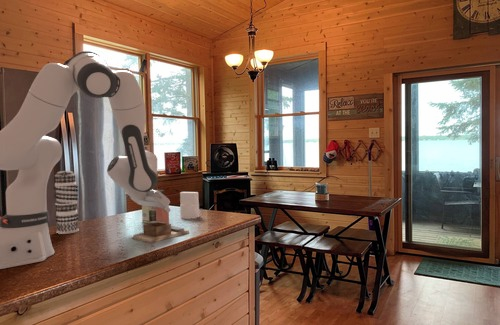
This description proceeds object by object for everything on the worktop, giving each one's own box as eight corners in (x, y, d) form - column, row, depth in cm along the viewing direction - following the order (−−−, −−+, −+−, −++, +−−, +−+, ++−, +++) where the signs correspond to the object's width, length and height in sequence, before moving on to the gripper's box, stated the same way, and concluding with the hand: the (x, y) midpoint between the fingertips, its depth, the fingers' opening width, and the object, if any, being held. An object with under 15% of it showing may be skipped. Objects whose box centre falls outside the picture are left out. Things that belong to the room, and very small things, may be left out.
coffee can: (168, 218, 177) (167, 189, 176) (159, 223, 167) (158, 192, 166) (148, 218, 179) (147, 189, 178) (138, 222, 169) (136, 192, 168)
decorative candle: (63, 235, 148) (60, 172, 147) (50, 232, 153) (47, 171, 152) (84, 230, 156) (81, 170, 155) (71, 228, 161) (69, 170, 160)
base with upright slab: (176, 218, 178) (176, 193, 178) (187, 214, 187) (186, 191, 186) (193, 219, 175) (192, 193, 174) (202, 215, 183) (202, 191, 183)
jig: (150, 242, 133) (150, 229, 133) (133, 238, 140) (132, 226, 140) (189, 233, 147) (188, 221, 147) (171, 229, 154) (170, 218, 154)
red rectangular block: (162, 229, 155) (161, 205, 154) (156, 228, 157) (155, 204, 157) (169, 227, 157) (168, 204, 157) (163, 226, 160) (162, 203, 160)
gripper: (159, 184, 143) (181, 206, 150) (131, 182, 156) (152, 202, 164) (150, 197, 140) (172, 219, 147) (122, 194, 153) (144, 214, 161)
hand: (161, 210), depth 156 cm, fingers open, 8 cm apart
